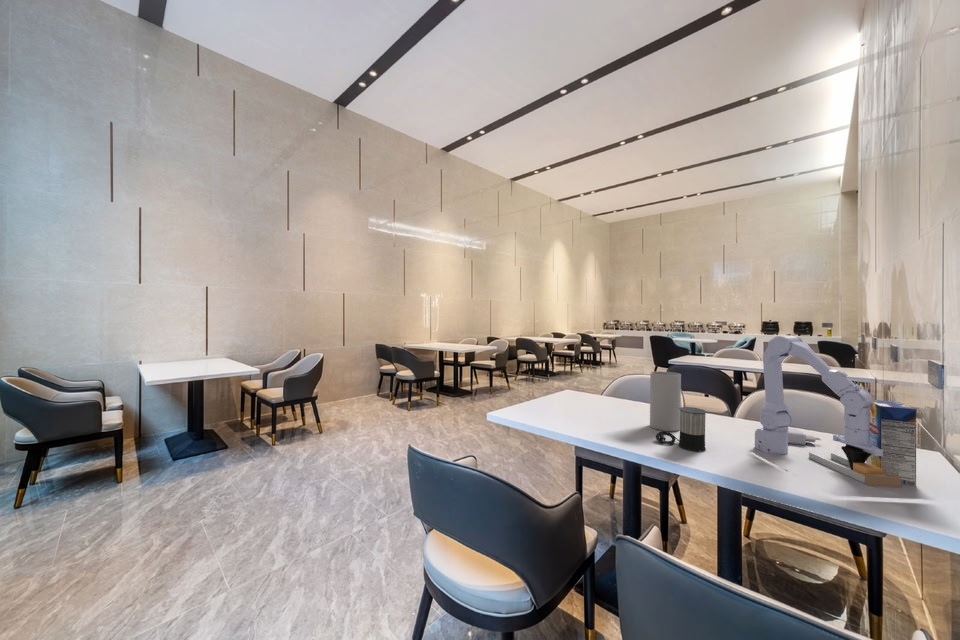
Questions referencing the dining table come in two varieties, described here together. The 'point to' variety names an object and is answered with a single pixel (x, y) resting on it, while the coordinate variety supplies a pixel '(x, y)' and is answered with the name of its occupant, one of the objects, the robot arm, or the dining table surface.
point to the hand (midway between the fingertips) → (856, 470)
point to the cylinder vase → (665, 400)
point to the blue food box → (894, 439)
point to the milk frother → (688, 430)
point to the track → (844, 468)
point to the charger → (799, 437)
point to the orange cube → (866, 468)
